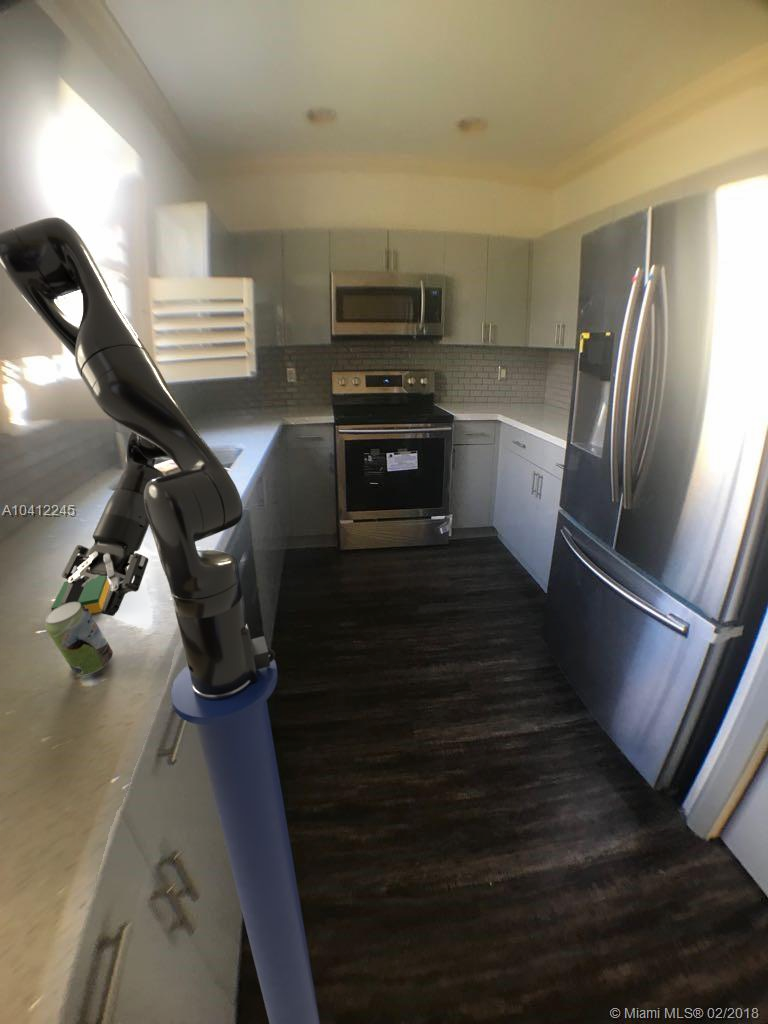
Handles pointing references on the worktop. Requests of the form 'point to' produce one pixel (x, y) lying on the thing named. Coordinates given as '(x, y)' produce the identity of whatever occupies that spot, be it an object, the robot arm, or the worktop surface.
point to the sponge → (88, 594)
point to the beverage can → (78, 638)
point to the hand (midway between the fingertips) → (87, 610)
